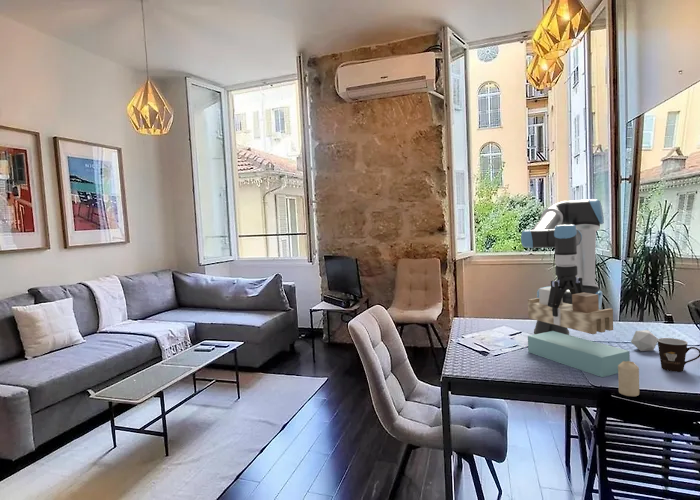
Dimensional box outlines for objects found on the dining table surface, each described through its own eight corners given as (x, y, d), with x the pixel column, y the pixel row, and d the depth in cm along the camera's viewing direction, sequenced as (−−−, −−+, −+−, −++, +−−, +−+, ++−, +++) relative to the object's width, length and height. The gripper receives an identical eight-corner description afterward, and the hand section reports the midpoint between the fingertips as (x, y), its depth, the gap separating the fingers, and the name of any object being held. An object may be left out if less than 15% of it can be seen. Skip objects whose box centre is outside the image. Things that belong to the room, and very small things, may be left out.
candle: (631, 398, 133) (631, 366, 133) (614, 392, 138) (614, 361, 138) (643, 394, 135) (642, 362, 135) (626, 388, 140) (625, 358, 140)
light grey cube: (539, 303, 176) (538, 288, 175) (550, 301, 178) (550, 287, 177) (551, 305, 170) (550, 290, 170) (562, 303, 172) (562, 288, 172)
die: (658, 355, 171) (665, 334, 173) (636, 345, 172) (644, 323, 175) (644, 357, 179) (651, 336, 181) (624, 347, 180) (631, 326, 182)
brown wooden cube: (572, 310, 161) (572, 294, 160) (584, 308, 163) (583, 292, 163) (586, 313, 155) (586, 296, 155) (598, 310, 158) (598, 294, 157)
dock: (528, 352, 182) (527, 335, 182) (553, 346, 187) (552, 330, 187) (602, 377, 151) (601, 357, 150) (629, 370, 156) (629, 350, 156)
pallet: (528, 318, 179) (527, 299, 179) (546, 314, 183) (546, 296, 182) (593, 334, 151) (592, 312, 151) (613, 330, 155) (612, 308, 154)
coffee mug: (652, 367, 157) (651, 340, 156) (667, 363, 160) (666, 336, 160) (687, 377, 146) (687, 348, 146) (703, 372, 150) (702, 344, 149)
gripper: (551, 269, 158) (553, 329, 160) (596, 263, 166) (597, 320, 168) (535, 267, 165) (537, 325, 166) (579, 261, 173) (580, 316, 175)
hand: (567, 322), depth 167 cm, fingers closed on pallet, 10 cm apart
